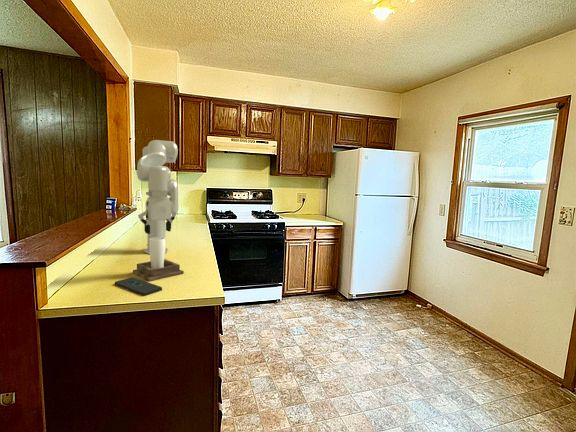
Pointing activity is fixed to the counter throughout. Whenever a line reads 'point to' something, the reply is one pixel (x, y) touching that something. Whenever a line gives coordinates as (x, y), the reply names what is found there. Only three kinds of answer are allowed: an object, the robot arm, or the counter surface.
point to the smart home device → (138, 286)
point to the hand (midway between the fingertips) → (158, 232)
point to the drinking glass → (157, 252)
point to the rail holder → (157, 270)
